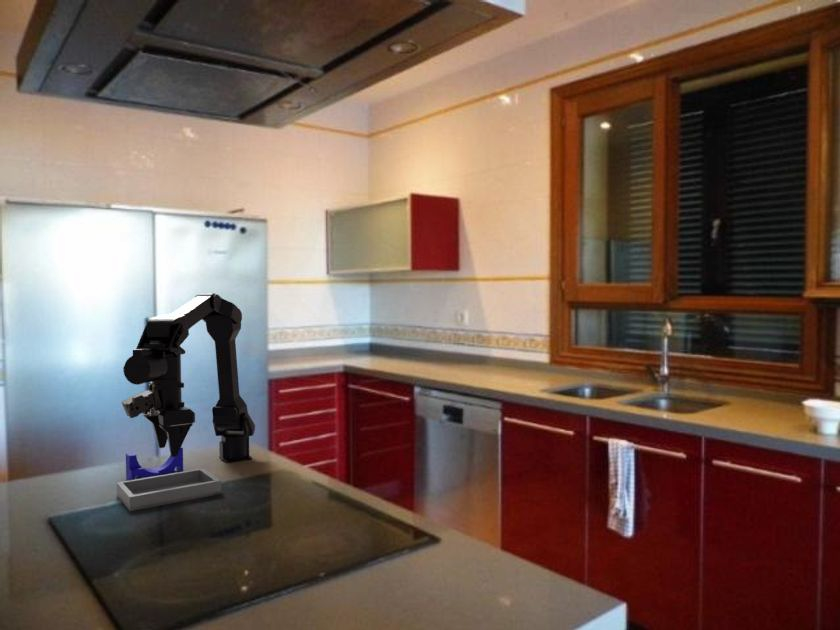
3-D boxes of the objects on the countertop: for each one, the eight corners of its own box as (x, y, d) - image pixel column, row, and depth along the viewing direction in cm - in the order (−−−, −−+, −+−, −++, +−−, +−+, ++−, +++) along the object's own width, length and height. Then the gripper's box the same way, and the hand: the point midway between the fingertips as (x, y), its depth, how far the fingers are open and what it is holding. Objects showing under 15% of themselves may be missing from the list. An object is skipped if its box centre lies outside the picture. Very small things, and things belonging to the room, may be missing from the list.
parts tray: (203, 481, 146) (203, 468, 146) (221, 494, 137) (221, 480, 137) (116, 496, 136) (116, 482, 136) (129, 512, 126) (129, 497, 126)
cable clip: (131, 483, 145) (131, 457, 145) (126, 479, 149) (125, 453, 149) (185, 474, 153) (185, 448, 153) (179, 470, 156) (178, 445, 156)
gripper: (115, 376, 138) (116, 449, 138) (135, 386, 123) (137, 468, 123) (169, 372, 144) (170, 441, 145) (195, 381, 129) (196, 459, 130)
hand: (167, 452), depth 136 cm, fingers open, 9 cm apart
